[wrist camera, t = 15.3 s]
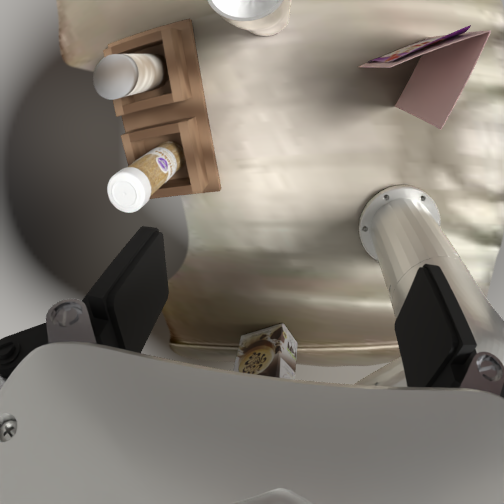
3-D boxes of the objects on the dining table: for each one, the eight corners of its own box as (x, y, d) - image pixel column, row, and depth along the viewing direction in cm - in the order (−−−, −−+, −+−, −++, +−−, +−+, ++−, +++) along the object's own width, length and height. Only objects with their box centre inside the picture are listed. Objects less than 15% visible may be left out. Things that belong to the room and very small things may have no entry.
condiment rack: (221, 188, 45) (198, 225, 35) (145, 197, 47) (110, 233, 38) (191, 19, 32) (155, 7, 23) (111, 44, 34) (61, 46, 25)
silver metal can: (302, 30, 32) (303, 8, 19) (247, 46, 34) (219, 35, 21) (282, -17, 28) (271, -59, 16) (228, 1, 30) (190, -30, 18)
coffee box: (282, 321, 57) (274, 398, 43) (298, 343, 59) (293, 417, 46) (239, 334, 60) (222, 407, 46) (256, 355, 63) (244, 425, 49)
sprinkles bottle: (192, 155, 41) (152, 194, 30) (172, 177, 44) (129, 222, 32) (168, 133, 40) (119, 164, 29) (149, 156, 42) (98, 194, 31)
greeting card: (427, 31, 28) (486, 21, 16) (451, 82, 31) (515, 97, 19) (354, 61, 33) (384, 57, 20) (381, 112, 36) (421, 138, 23)
